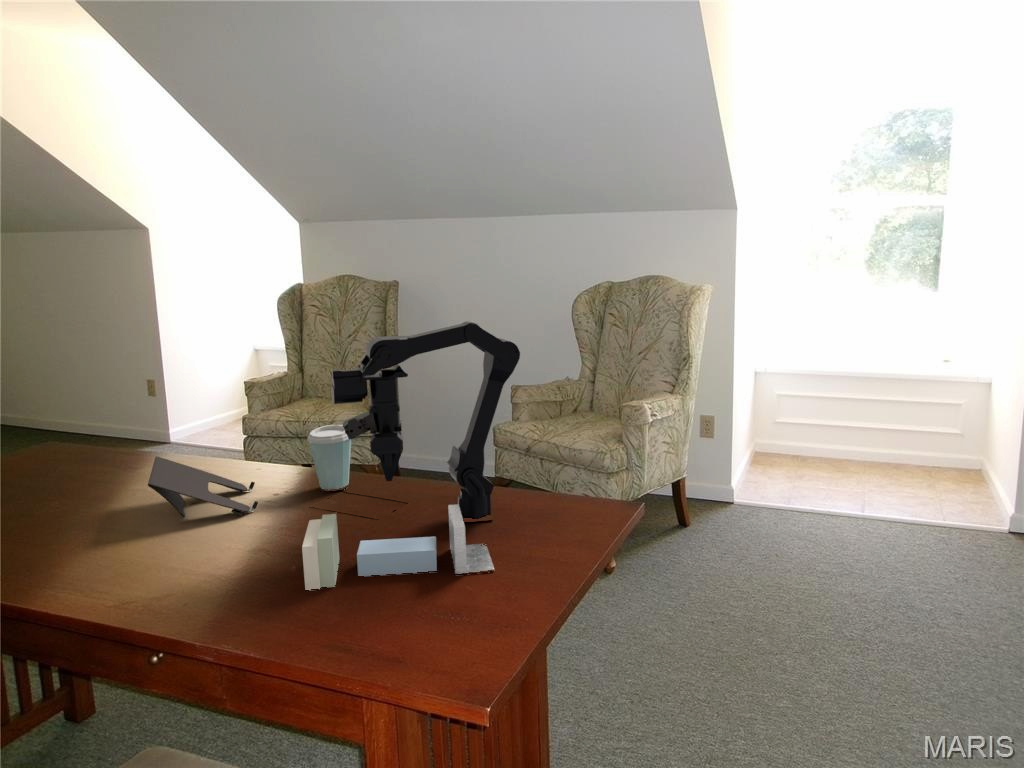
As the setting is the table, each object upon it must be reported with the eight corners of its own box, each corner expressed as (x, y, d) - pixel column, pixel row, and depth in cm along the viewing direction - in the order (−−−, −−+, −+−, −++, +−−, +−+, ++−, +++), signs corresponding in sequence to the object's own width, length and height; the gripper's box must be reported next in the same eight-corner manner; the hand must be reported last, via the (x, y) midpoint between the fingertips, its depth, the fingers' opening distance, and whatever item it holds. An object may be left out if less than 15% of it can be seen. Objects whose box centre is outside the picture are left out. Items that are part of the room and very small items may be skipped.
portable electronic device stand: (243, 545, 166) (259, 507, 166) (134, 514, 157) (152, 474, 157) (239, 512, 187) (254, 478, 187) (143, 483, 178) (159, 447, 178)
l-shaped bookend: (485, 546, 147) (484, 502, 145) (494, 571, 135) (493, 524, 134) (450, 549, 146) (448, 505, 144) (455, 575, 134) (453, 527, 132)
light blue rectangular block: (436, 558, 142) (435, 536, 141) (436, 573, 136) (435, 550, 135) (362, 563, 141) (360, 540, 140) (358, 578, 135) (356, 554, 134)
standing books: (339, 557, 143) (336, 512, 141) (335, 588, 130) (331, 538, 129) (312, 560, 142) (309, 515, 141) (305, 590, 130) (301, 541, 128)
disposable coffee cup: (345, 496, 178) (340, 434, 176) (303, 494, 181) (298, 433, 178) (362, 482, 189) (358, 424, 186) (322, 480, 191) (318, 423, 188)
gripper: (346, 393, 159) (351, 464, 162) (341, 412, 141) (346, 491, 144) (399, 390, 161) (403, 460, 164) (401, 408, 143) (405, 487, 146)
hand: (388, 474), depth 154 cm, fingers open, 9 cm apart
